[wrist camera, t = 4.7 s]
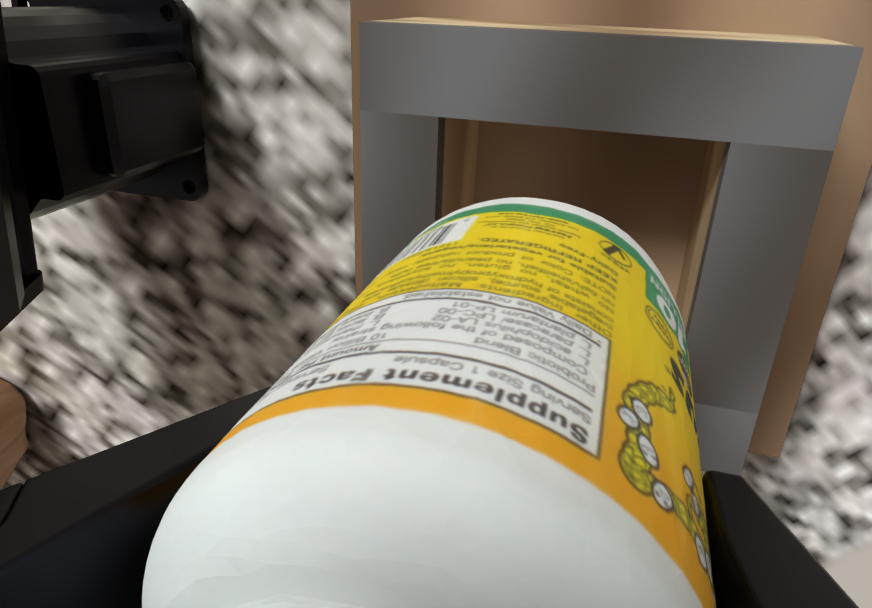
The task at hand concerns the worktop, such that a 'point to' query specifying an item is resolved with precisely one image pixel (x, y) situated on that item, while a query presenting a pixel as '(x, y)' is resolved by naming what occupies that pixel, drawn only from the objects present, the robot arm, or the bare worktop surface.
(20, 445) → the cupcake
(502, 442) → the supplement bottle
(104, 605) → the robot arm
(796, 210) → the socket
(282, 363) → the worktop surface
